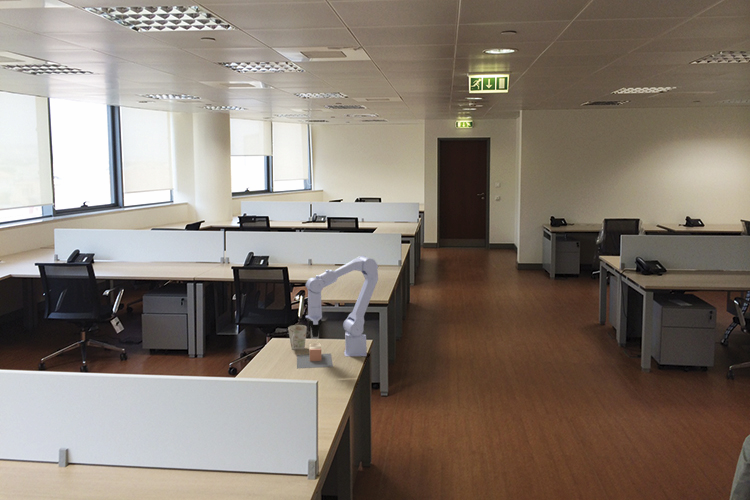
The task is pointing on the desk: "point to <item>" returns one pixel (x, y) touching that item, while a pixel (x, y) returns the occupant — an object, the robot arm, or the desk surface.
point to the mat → (305, 362)
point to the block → (315, 352)
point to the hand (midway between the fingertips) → (315, 336)
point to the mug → (297, 336)
